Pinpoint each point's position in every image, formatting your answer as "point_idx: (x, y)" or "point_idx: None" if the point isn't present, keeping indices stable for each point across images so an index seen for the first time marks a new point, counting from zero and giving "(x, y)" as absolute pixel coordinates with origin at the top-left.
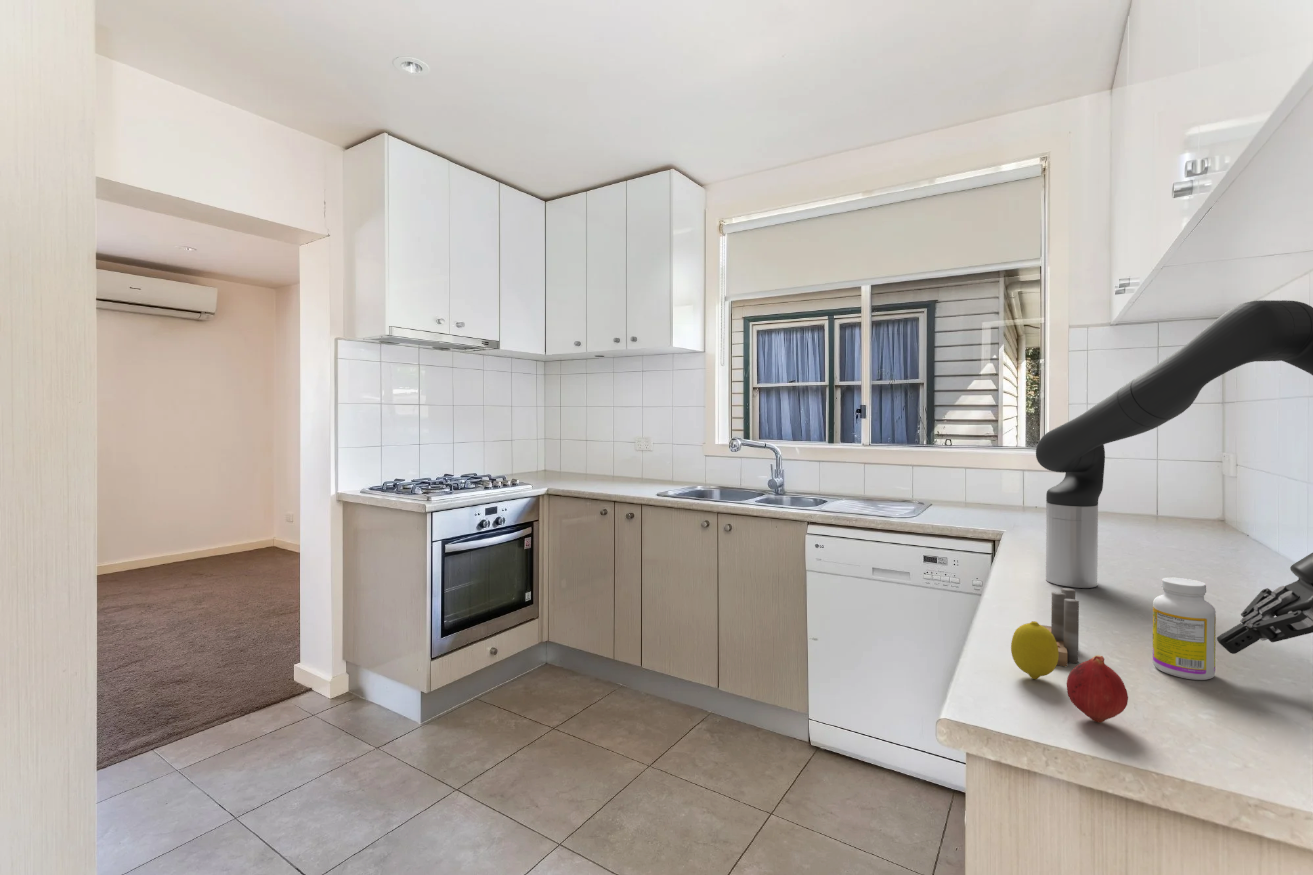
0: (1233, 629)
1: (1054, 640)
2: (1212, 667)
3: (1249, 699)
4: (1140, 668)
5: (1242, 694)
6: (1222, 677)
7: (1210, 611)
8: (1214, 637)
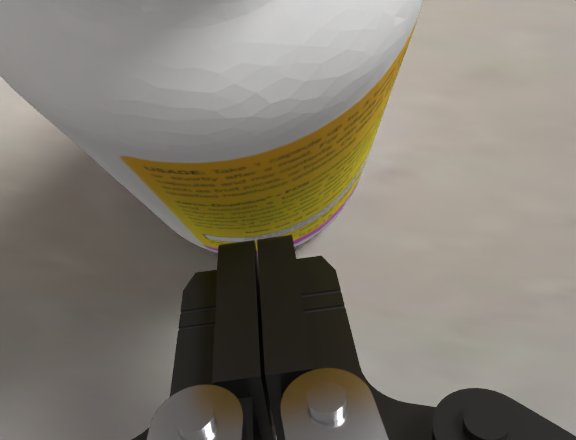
0: (269, 316)
1: None
2: (183, 235)
3: (37, 359)
4: None
5: (87, 340)
6: None
7: (24, 91)
8: (168, 206)
